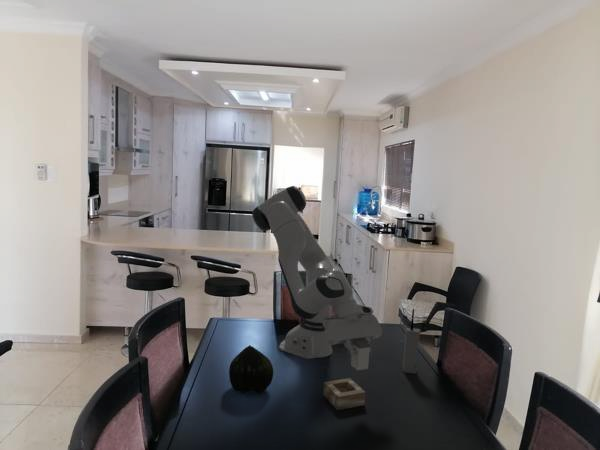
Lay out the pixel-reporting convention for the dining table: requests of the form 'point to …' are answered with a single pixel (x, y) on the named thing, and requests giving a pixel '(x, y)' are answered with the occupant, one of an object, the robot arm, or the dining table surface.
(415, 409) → the dining table surface
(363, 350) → the pale rectangular box
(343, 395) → the box
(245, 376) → the squash
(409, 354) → the vintage mobile phone
